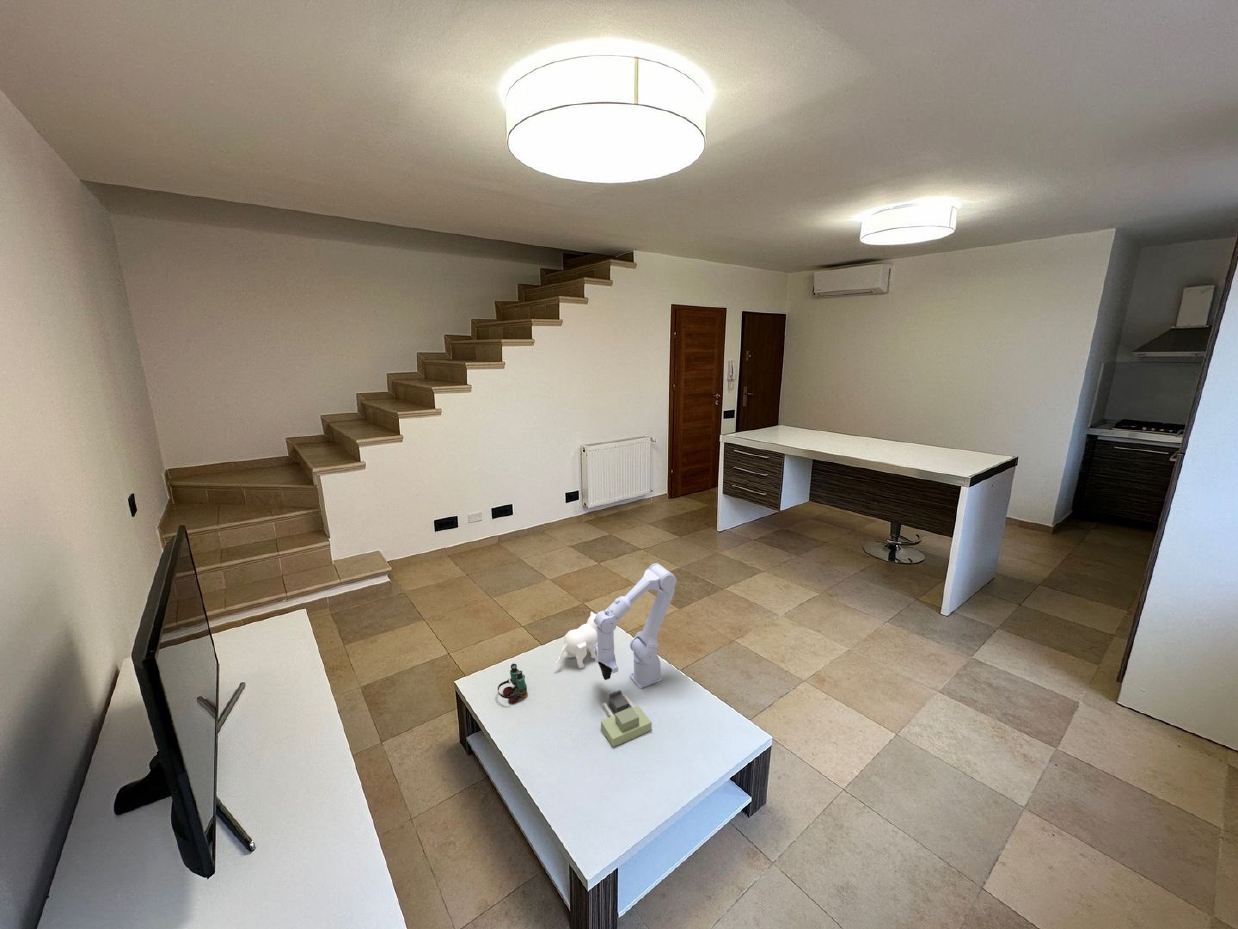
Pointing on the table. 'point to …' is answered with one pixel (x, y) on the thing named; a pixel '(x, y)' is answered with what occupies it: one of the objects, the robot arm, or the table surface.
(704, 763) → the table surface
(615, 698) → the grey overhanging lid block
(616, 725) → the green post base
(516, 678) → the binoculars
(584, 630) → the cat figurine
